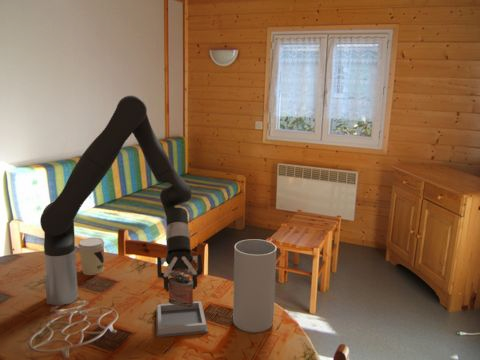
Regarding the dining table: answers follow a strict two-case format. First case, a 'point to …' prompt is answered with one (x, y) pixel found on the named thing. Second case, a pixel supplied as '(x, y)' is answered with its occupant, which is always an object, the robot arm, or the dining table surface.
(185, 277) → the lighter
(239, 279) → the cylinder vase
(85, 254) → the coffee cup
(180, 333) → the tray
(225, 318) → the dining table surface
